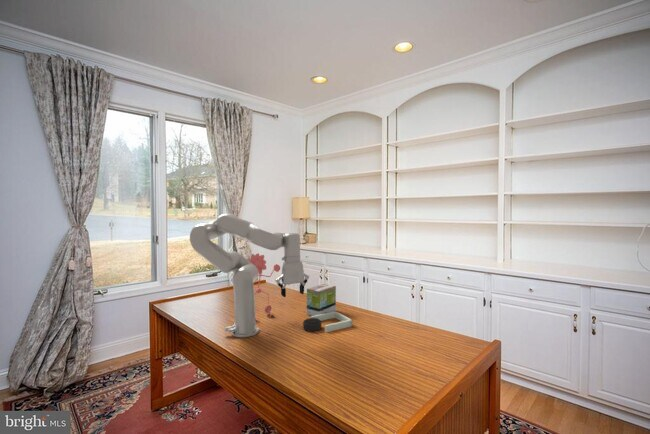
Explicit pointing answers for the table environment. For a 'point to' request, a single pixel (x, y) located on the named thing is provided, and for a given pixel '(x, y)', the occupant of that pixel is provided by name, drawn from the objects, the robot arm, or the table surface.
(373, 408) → the table surface
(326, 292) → the tea box
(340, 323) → the frame
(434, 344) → the table surface
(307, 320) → the smart speaker
